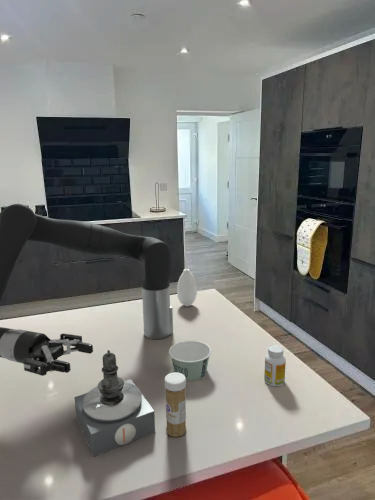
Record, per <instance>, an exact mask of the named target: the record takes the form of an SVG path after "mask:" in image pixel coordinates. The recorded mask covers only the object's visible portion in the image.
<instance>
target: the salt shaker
mask: <svg viewBox="0 0 375 500" xmlns="http://www.w3.org/2000/svg"><path fill="white" fill-rule="evenodd" d="M118 370H119V366H118V365H117V357H116V354H115V353H113V352H111V350H109V349H108V350H107V351H106V353H104V354H103V355H102V367H101V372H102V373H103V376H102V377H103V378H102V379H101V380H100V381H99V382H98V384H97V386H98V389H99V391H100V393H101V394H102V396H101V397H100V401H101V403H102V404H104V405H108V406H111V405H116V404H118V403H120V402H121V401H122V400H123V398H124V395H123V393H122V389H123V386H124V381H125V380H124V379H123V378H122V377H120V376H118Z"/></svg>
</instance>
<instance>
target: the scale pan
mask: <svg viewBox="0 0 375 500" xmlns="http://www.w3.org/2000/svg"><path fill="white" fill-rule="evenodd" d="M134 384H135V383H134ZM134 384H131V383H128V382H124V386H123V389H122V393H123V395H124V398H123V400H122V401H121V402H120V403H118V404H116V405H111V406H108V405H104V404H102V403H101V401H100V397H101V396H102V394H101V393H100V391H99V389H98V385H96V386H95V387H93V388H92V389H91V390H89V391H88V392H87V394H86V393H85V394H86V396H85V397H84V400H83V410H84V413H85V415H86V416H87V417H88V418H90V419H92V420H94V421H97V422H103V423H110V422H117V421H121V420H124V419H126V418H128V417H130V416H131V415H133V414H134V413H135V412H137V410H138V409H139V408H140V406H141V403H142V395H143V394H142V391H141V389H140V388H139V387H138V386H137V385H136V384H135V385H134Z"/></svg>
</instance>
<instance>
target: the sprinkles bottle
mask: <svg viewBox="0 0 375 500" xmlns="http://www.w3.org/2000/svg"><path fill="white" fill-rule="evenodd" d="M186 381H187V380H186V378H185V376H184V375H183V374H181V373H177V372H175V373H174V372H170V373H168V374H167V375H166V376H165V377H164V387H165V418H166V428H165V429H166V430H165V431H166V433H167V434H168V435H169V436H171V437H174V438H176V437H177V438H178V437H182V436H183V435H184V434H185V433H187V426H186V424H187V423H186V418H187V416H186V415H187V412H186V411H187V407H186V406H187V404H186V403H187V400H186V398H187V397H186V385H187V382H186Z"/></svg>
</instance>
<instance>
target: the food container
mask: <svg viewBox="0 0 375 500" xmlns="http://www.w3.org/2000/svg"><path fill="white" fill-rule="evenodd" d="M168 355H169V357H170V358H171V362H172V363H171V364H172V368H173V373H175V372H177V373H181V374H183V375H184V376H185V378H186V381H196V380H200V379H202V378H203V377H205V376H206V374H207V371H208V367H209V360H210V356H211V355H212V349H211V347H210V345H208V344H207V343H205V342H202V341H198V340H184V341H183V340H182V341H179V342H176V343H174V344H173V345H171V346H170V348H169V349H168Z"/></svg>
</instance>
